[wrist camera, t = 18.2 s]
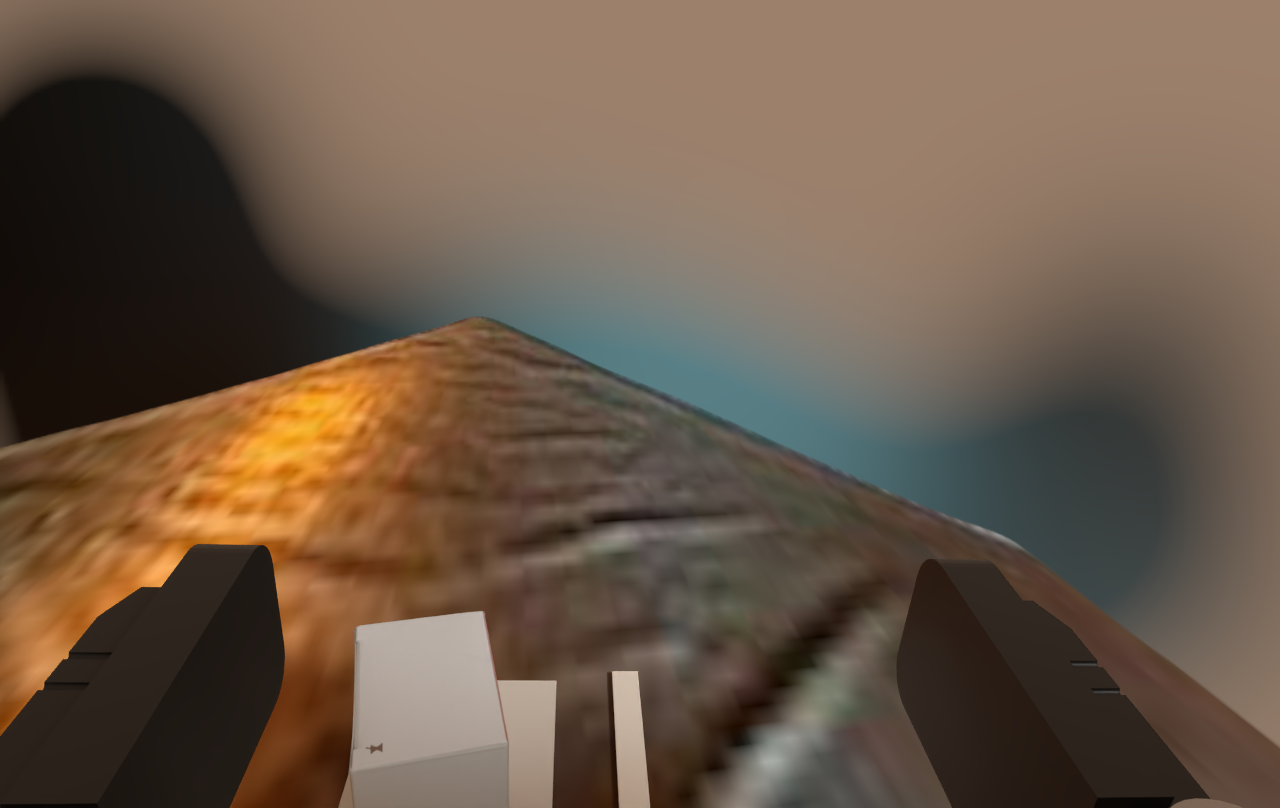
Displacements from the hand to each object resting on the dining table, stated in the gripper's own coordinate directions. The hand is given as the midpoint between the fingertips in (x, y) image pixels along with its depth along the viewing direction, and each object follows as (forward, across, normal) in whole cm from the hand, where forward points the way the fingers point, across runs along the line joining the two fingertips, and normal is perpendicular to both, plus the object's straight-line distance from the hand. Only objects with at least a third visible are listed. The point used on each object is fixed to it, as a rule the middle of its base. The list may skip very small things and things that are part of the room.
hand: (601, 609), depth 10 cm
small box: (+17, +6, +28) cm, 33 cm away
